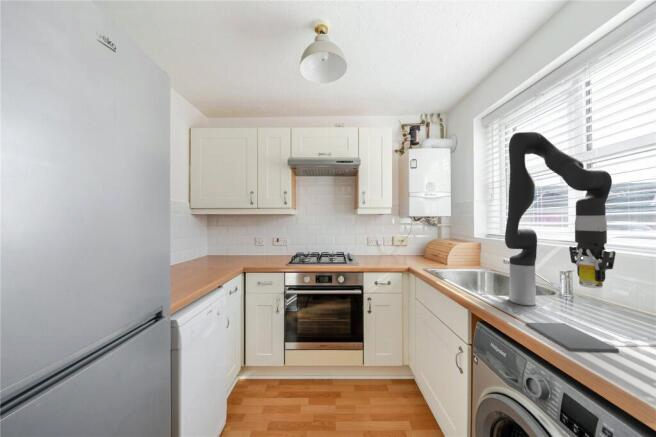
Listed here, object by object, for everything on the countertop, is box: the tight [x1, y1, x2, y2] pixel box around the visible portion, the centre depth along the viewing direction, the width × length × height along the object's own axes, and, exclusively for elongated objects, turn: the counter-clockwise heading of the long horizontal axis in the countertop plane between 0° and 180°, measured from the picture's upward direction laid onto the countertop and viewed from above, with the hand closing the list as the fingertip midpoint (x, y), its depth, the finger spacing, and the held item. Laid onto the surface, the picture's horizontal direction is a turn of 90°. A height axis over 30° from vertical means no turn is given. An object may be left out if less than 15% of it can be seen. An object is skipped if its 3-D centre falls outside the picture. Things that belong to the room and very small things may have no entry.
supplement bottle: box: [578, 256, 604, 289], centre depth 86 cm, size 6×6×10 cm
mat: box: [525, 322, 620, 353], centre depth 82 cm, size 18×13×1 cm
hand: (590, 278), depth 86 cm, fingers closed on supplement bottle, 5 cm apart
